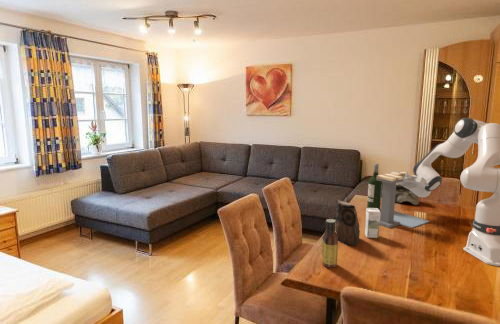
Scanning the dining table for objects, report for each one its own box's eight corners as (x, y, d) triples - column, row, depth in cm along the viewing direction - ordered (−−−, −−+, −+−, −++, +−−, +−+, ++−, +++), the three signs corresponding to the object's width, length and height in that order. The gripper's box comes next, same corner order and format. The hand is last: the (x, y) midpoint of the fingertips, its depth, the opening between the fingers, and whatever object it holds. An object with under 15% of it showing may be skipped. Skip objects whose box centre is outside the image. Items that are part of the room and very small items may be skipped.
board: (397, 174, 195) (397, 170, 195) (413, 177, 187) (413, 173, 186) (376, 178, 185) (376, 174, 184) (392, 181, 176) (392, 177, 176)
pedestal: (384, 219, 194) (387, 176, 190) (399, 224, 186) (403, 179, 182) (373, 222, 189) (376, 178, 185) (389, 228, 181) (392, 181, 176)
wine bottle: (364, 208, 216) (367, 162, 211) (374, 207, 218) (377, 162, 213) (372, 211, 208) (375, 165, 203) (382, 210, 211) (386, 164, 206)
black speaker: (357, 247, 156) (359, 207, 153) (330, 243, 161) (332, 203, 158) (360, 238, 167) (362, 200, 164) (335, 234, 172) (336, 197, 169)
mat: (392, 211, 210) (392, 210, 210) (429, 222, 190) (429, 221, 190) (374, 216, 200) (374, 215, 200) (411, 228, 180) (411, 227, 180)
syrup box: (375, 234, 172) (377, 207, 170) (378, 238, 166) (380, 211, 164) (364, 233, 173) (365, 207, 170) (367, 238, 167) (368, 210, 165)
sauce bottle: (326, 260, 144) (327, 216, 140) (339, 264, 140) (341, 219, 136) (318, 265, 139) (320, 220, 135) (332, 270, 135) (334, 224, 131)
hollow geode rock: (376, 205, 238) (374, 193, 227) (379, 190, 244) (377, 178, 234) (420, 210, 223) (419, 198, 213) (422, 194, 229) (421, 182, 219)
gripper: (428, 191, 187) (417, 182, 180) (395, 184, 204) (384, 175, 197) (431, 181, 188) (421, 171, 181) (398, 175, 205) (387, 166, 197)
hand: (401, 173), depth 189 cm, fingers closed on board, 3 cm apart
